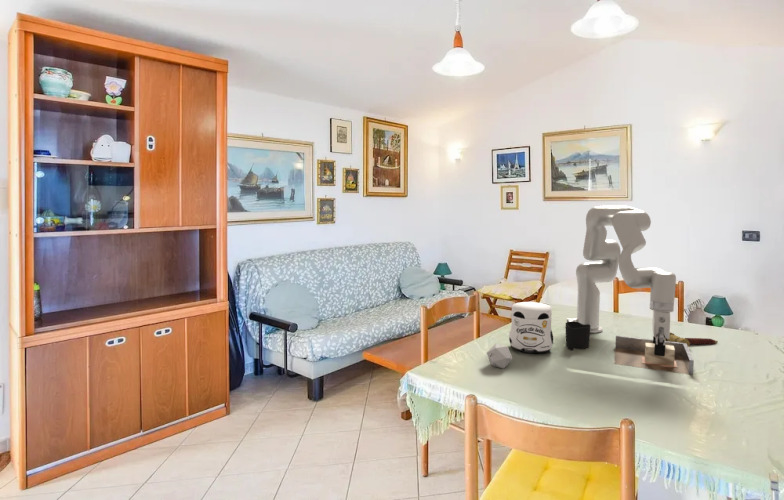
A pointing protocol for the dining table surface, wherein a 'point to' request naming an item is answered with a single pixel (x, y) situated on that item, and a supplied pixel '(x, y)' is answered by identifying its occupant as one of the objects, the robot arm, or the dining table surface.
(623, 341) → the metal walls
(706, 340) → the gavel
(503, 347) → the die
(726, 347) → the dining table surface
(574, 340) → the pen holder
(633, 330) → the dining table surface
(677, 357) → the walnut board
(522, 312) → the milk container
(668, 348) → the maple block
